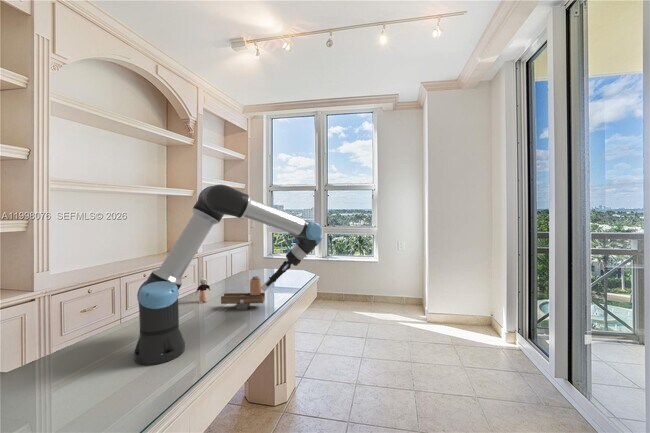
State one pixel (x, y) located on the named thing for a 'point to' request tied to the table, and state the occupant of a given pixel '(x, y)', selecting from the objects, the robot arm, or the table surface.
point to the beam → (242, 299)
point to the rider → (255, 286)
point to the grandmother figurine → (203, 290)
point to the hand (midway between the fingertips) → (262, 289)
